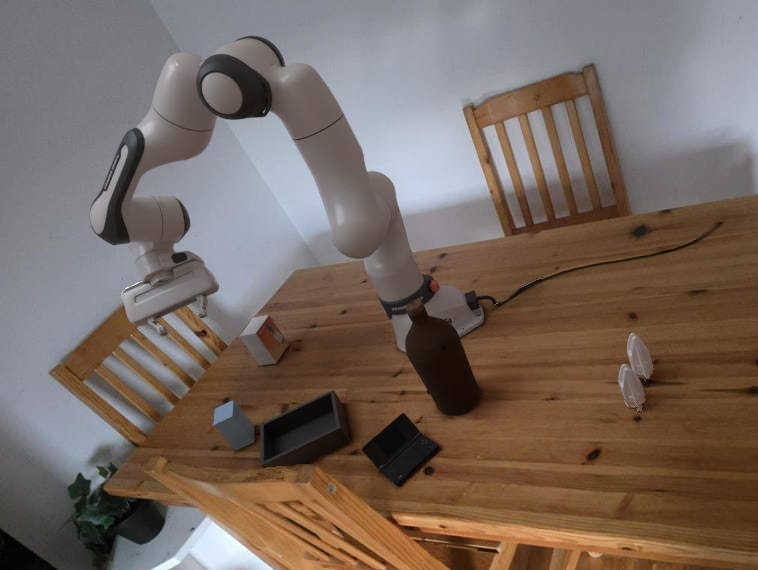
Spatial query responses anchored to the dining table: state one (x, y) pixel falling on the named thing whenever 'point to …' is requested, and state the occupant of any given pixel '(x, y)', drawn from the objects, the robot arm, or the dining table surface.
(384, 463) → the handheld gaming console
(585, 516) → the dining table surface
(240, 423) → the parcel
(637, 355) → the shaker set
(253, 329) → the small box
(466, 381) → the olive oil
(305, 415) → the tote
